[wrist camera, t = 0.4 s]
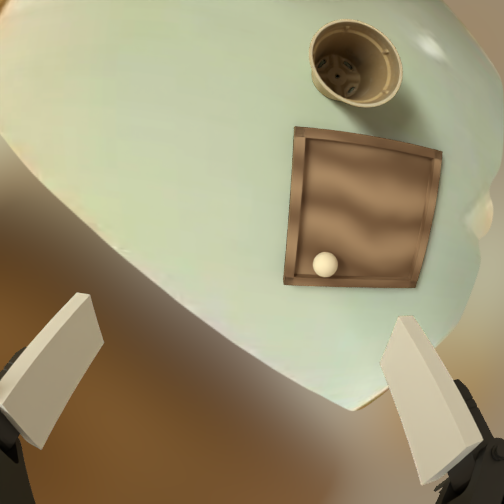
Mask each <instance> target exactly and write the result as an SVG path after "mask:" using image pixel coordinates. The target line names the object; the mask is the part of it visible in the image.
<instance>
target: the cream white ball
mask: <svg viewBox="0 0 504 504" xmlns="http://www.w3.org/2000/svg"><path fill="white" fill-rule="evenodd" d="M337 267H338V261H337V259H336V257H335V256H334V255H333V254H332V253H329V252H322V253H319V254H318V255H317V256H316V257H315V258H314V261H313V268H314V271H315V272H316V273H317V274H318V275H319V276H321V277H329V276H332V275H333V274H334V273H335V272H336V270H337Z"/></svg>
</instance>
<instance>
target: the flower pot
mask: <svg viewBox="0 0 504 504" xmlns="http://www.w3.org/2000/svg"><path fill="white" fill-rule="evenodd" d="M322 60H325V61H326V63H324V64H323V65H322V66H321V67H318V66H319V64H320V63H321V61H322ZM309 61H310V65H311V68H312V73H311V74H312V80H313V83H314V85H315V87H316V88H317V89H318V91H319V92H320V93H322V94H323V95H324V96H326V97H328V98H330V99H333V100H338V101H342V102H344V103H347V104H349V105H352V106H356V107H376V106H379V105H382V104H384V103H386V102H388V101H389V100H391V99H392V98H393V97H394V96H395V94H396V93H397V91H398V90H399V88H400V85H401V82H402V76H403V71H402V63H401V60H400V57H399V54H398V52H397V50H396V48H395V47H394V45H393V44H392V42H391V41H390V40H389V39H388V38H387V37H386V36H385V35H384V34H383V33H382V32H380V31H379V30H378V29H376V28H375V27H373V26H371V25H369V24H366V23H364V22H361V21H358V20H351V19H341V20H335V21H332V22H330V23H327V24H326V25H324V26H323V27H321V28H320V29H319V30H318V31H317V32H316V33H315V35H314V36H313V38H312V40H311V43H310V47H309ZM344 62H348V63H349V64H350V66H351V67H352V69H350V68H348V67H347V66H346V65H345V64H344ZM336 75H339V78H337V77H336ZM352 87H354V89H353V90H352V92H350V93H348V91H349V90H350V89H351V88H352Z"/></svg>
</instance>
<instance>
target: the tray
mask: <svg viewBox="0 0 504 504" xmlns="http://www.w3.org/2000/svg"><path fill="white" fill-rule="evenodd" d="M441 162H442V151H438V150H434V149H431V148H427V147H423V146H418V145H414V144H410V143H405V142H400V141H396V140H391V139H385V138H380V137H375V136H369V135H363V134H356V133H350V132H343V131H335V130H327V129H318V128H308V127H297V126H295V127H294V140H293V158H292V175H291V190H290V204H289V218H288V230H287V243H286V254H285V265H284V276H283V282H284V285H299V286H329V287H372V288H415V287H416V284H417V281H418V277H419V274H420V270H421V267H422V263H423V259H424V255H425V251H426V247H427V243H428V239H429V234H430V230H431V225H432V220H433V215H434V210H435V204H436V198H437V192H438V186H439V179H440V171H441ZM322 252H329V253H332V254H333V255H334V256H335V257H336V259H337V261H338V267H337V270H336V272H335V273H334V274H333V275H332V276H329V277H321V276H319V275H318V274H317V273H316V272H315V271H314V268H313V261H314V258H315V257H316V256H317V255H318V254H319V253H322Z"/></svg>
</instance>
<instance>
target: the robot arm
mask: <svg viewBox="0 0 504 504" xmlns="http://www.w3.org/2000/svg"><path fill="white" fill-rule="evenodd" d="M103 343H104V341H103V338H102V335H101V332H100V329H99V326H98V322H97V318H96V315H95V311H94V308H93V304H92V300H91V296H90V295H89V294H82V293H76V294H75V295H74V296H73V297H72V298H71V299H70V300H69V301H68V302H67V303H66V304H65V306H64V307H63V308H62V309H61V310H60V311H59V312H58V313H57V314H56V315H55V316H54V318H53V319H51V321H50V322H49V323H48V324H47V325H46V326H45V327H44V328H43V330H42V331H41V332H40V333H39V334H38V335H37V336H36V338H35V339H34V340H33V341H32V342H31V343H30V344H29V346H28V347H24V348H22V349H21V350H20V351H18V352H16V353H15V355H14V356H13V357H12V358H11V360H10V361H9V363H7V364H6V366H5V367H4V370H2V371H1V372H0V504H35V501H34V498H33V494H32V491H31V487H30V483H29V479H28V475H27V471H26V467H25V462H24V457H23V452H22V447H21V443H20V440H19V438H18V436H19V434H21V435H22V436H23V438H24V439H25V440H26V441H27V442H29V443H30V444H32V445H34V446H35V447H37V448H39V449H41V450H42V448H43V446H44V444H45V442H46V440H47V438H48V436H49V434H50V432H51V431H52V429H53V427H54V425H55V423H56V421H57V420H58V418H59V416H60V414H61V412H62V411H63V409H64V407H65V405H66V404H67V401H68V400H69V398H70V397H71V395H72V393H73V392H74V390H75V388H76V386H77V385H78V383H79V382H80V380H81V378H82V377H83V375H84V373H85V372H86V370H87V368H88V367H89V365H90V363H91V362H92V360H93V359H94V357H95V356H96V354H97V353H98V351H99V350H100V348H101V347H102V345H103ZM380 366H381V368H382V371H383V373H384V376H385V378H386V381H387V383H388V386H389V389H390V391H391V394H392V396H393V399H394V402H395V405H396V408H397V410H398V413H399V416H400V419H401V422H402V425H403V427H404V430H405V433H406V436H407V439H408V443H409V446H410V449H411V452H412V455H413V458H414V462H415V465H416V468H417V472H418V475H419V479H420V483H421V485H424V484H427V483H430V482H433V481H435V480H438V479H439V478H441V477H442V476H443V475H445V474H446V473H447V472H448V475H449V477H448V478H447V479H446V480H445V481H443V482H442V483H441V484H439V485H438V486H436V488H435V489H434V491H437V490H439V489H440V488H442V487H443V488H442V490H441V491H440V492H439V493H440V495H439V497H438V499H437V502H436V504H504V440H503V439H502V438H494V437H493V436H492V434H491V432H490V430H489V428H488V426H487V424H486V422H485V420H484V418H483V416H482V414H481V412H480V410H479V408H477V405H476V403H475V401H474V399H472V398H473V397H472V396H471V394H470V392H469V390H468V388H467V387H466V386H465V385H464V384H463V383H462V382H461V381H460V380H458V379H457V380H453V379H452V377H451V376H450V374H449V372H448V371H447V369H446V367H445V366H444V364H443V362H442V360H441V359H440V357H439V355H438V354H437V352H436V351H435V349H434V347H433V346H432V344H431V342H430V341H429V339H428V338H427V336H426V335H425V333H424V332H423V330H422V328H421V327H420V325H419V324H418V322H417V321H416V319H415V318H414V316H398V318H397V321H396V324H395V326H394V329H393V332H392V334H391V337H390V339H389V342H388V344H387V347H386V349H385V351H384V354H383V356H382V358H381V361H380Z"/></svg>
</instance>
